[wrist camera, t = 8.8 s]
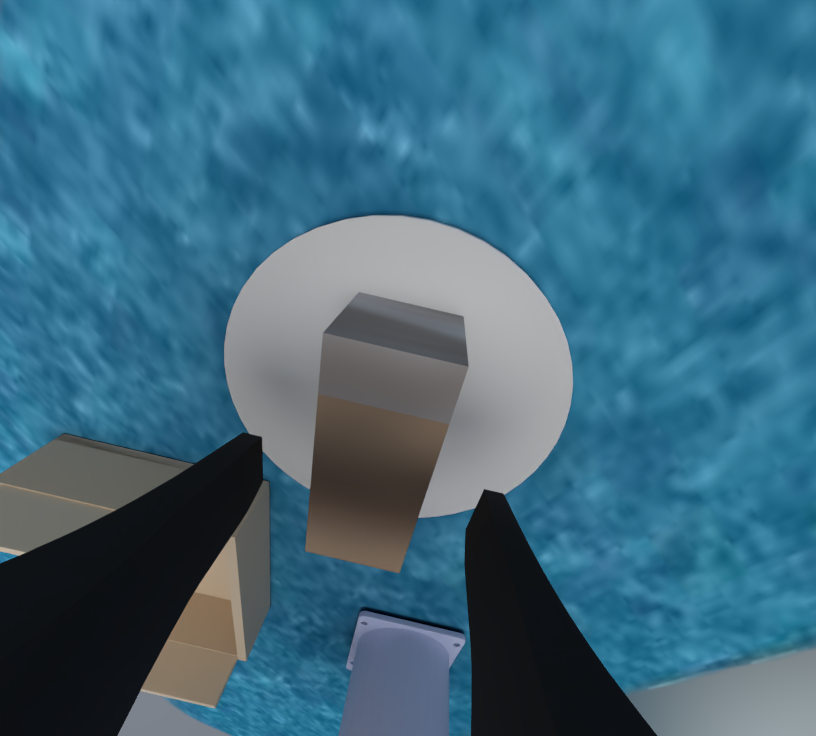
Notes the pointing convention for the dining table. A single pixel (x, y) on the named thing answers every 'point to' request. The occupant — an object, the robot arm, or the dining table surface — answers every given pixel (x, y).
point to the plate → (423, 286)
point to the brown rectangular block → (380, 425)
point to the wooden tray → (110, 490)
